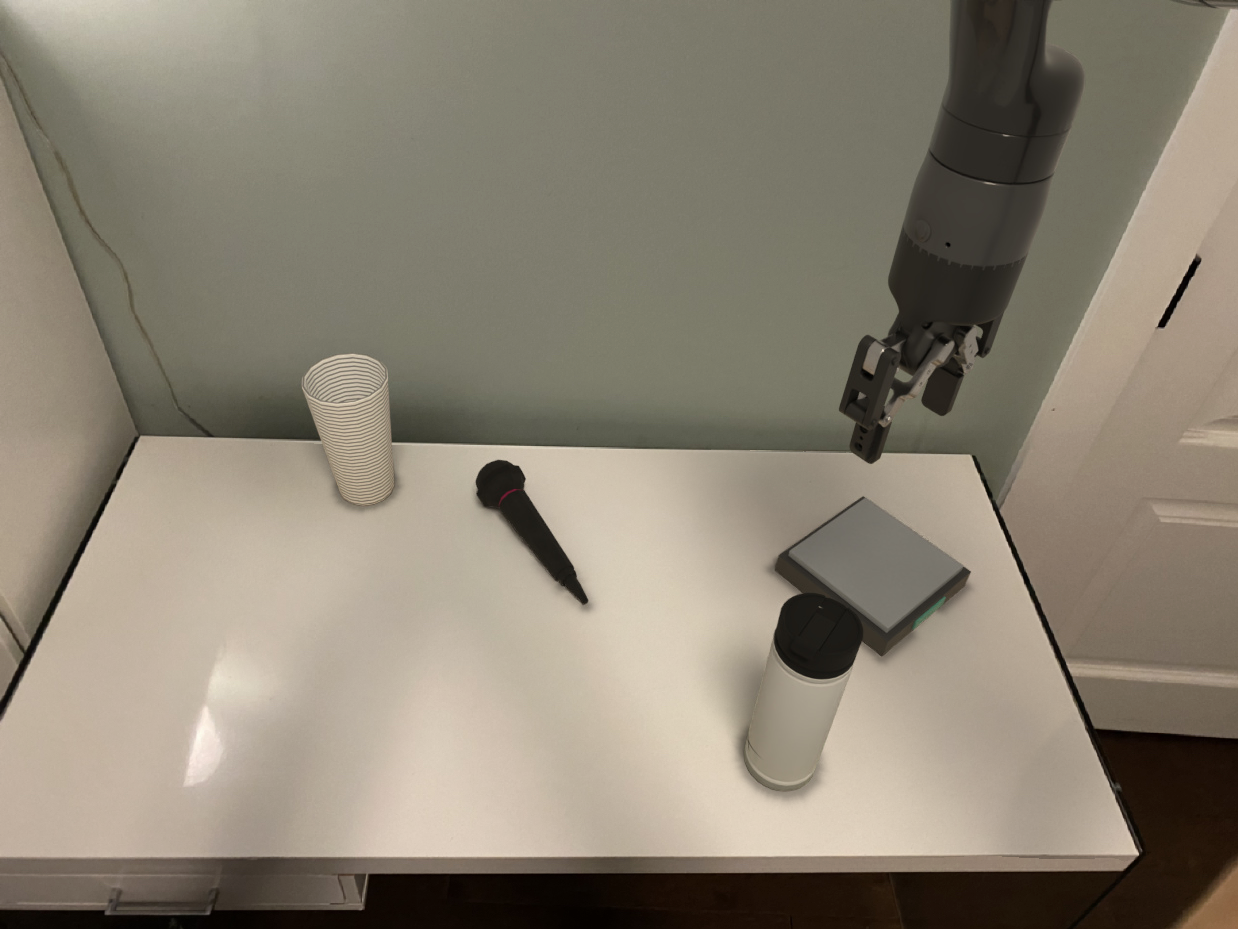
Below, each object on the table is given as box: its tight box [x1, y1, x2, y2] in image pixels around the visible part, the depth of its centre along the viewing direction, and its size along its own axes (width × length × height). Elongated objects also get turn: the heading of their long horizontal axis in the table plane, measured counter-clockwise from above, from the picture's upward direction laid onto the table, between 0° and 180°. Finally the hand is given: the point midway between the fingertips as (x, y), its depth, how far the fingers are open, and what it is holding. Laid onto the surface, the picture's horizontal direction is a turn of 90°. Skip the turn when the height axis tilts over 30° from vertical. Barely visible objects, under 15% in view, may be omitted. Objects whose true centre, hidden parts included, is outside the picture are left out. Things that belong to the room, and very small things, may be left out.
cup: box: [301, 352, 395, 506], centre depth 97 cm, size 8×8×16 cm
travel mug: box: [743, 592, 864, 792], centre depth 73 cm, size 6×7×20 cm
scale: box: [774, 495, 972, 657], centre depth 94 cm, size 14×14×3 cm
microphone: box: [475, 459, 589, 605], centre depth 96 cm, size 6×6×20 cm
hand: (900, 431), depth 66 cm, fingers open, 8 cm apart
